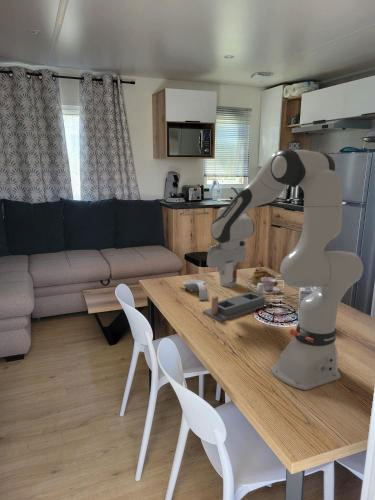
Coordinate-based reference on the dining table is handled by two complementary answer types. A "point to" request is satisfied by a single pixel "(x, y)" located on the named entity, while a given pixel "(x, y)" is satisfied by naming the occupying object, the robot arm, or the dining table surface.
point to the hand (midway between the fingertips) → (226, 273)
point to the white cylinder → (227, 272)
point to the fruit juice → (233, 278)
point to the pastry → (260, 275)
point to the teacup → (269, 285)
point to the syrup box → (303, 296)
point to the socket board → (236, 305)
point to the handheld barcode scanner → (197, 288)
